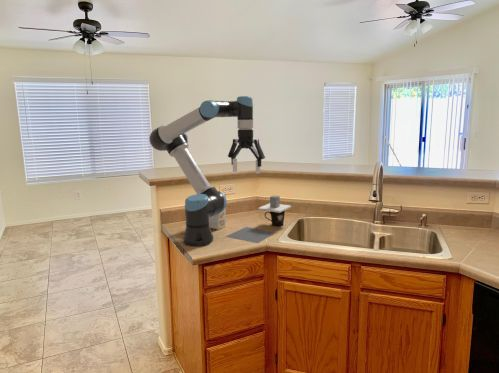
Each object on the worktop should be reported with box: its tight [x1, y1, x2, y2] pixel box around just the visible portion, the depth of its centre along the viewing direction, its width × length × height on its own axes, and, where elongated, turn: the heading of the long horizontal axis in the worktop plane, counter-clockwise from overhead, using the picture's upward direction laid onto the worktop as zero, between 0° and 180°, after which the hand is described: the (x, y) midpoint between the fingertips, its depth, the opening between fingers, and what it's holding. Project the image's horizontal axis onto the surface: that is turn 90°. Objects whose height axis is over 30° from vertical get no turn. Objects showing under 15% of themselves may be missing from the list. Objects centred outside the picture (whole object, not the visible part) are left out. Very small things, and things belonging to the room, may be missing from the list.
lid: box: [257, 195, 292, 213], centre depth 209 cm, size 14×14×7 cm
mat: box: [225, 226, 278, 244], centre depth 194 cm, size 20×20×1 cm
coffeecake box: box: [209, 193, 227, 231], centre depth 208 cm, size 15×7×20 cm, turn 56°
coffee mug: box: [264, 210, 286, 227], centre depth 210 cm, size 12×9×10 cm
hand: (246, 172), depth 181 cm, fingers open, 13 cm apart
